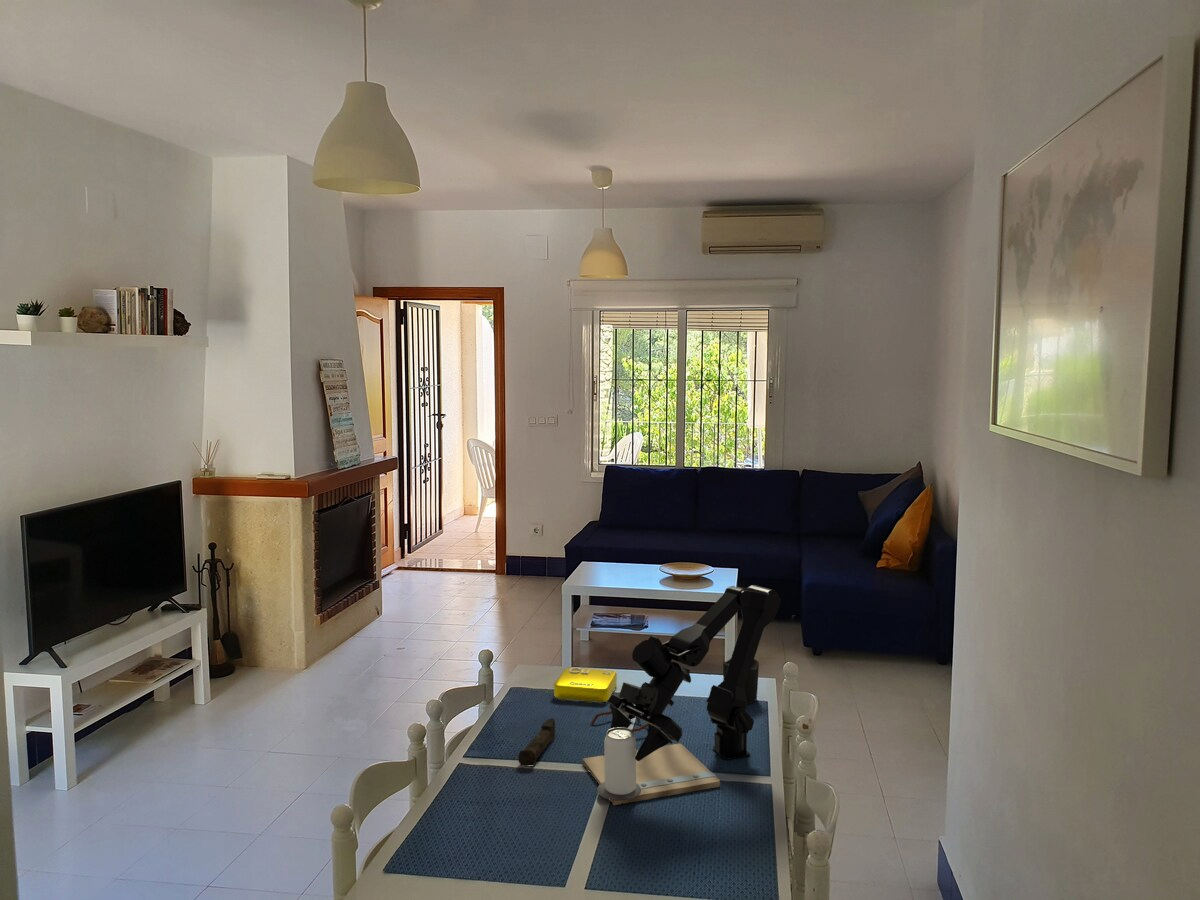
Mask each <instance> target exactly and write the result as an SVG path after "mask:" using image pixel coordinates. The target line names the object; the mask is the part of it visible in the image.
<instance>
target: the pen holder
mask: <svg viewBox="0 0 1200 900" xmlns="http://www.w3.org/2000/svg"><path fill="white" fill-rule="evenodd" d="M730 660H731V658H730V659H728V660H726V661H722V670H723V671H722V673H723V678H722V679H723V680H724V678H725V675H726V672H727V669H728V666H729V663H730ZM759 666H760V663H759V661H758V660H756V658H754V660H753V664H752V667H751V670H750V673H749V676H748V679H747V682H746V685H745V693H746V699H747V705H749V704H752V703H755V702H756V700H757V698H758V685H759V670H760V669H759V668H760V667H759ZM723 680H722V681H723Z"/></svg>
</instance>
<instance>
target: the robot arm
mask: <svg viewBox="0 0 1200 900" xmlns="http://www.w3.org/2000/svg"><path fill="white" fill-rule="evenodd" d="M781 602H782V601H781V598H780V594H779V593H778V591H776V590H775V589H770V588H768V587H763V586H759V585H755V584H752V585H750V586H748V587H741V586H734V585H731V586H728V587H726V588H725V590H724V594H722V595H721V596H720V597H719V598H718V599H717V600H716V602H715V603H713V605H712V606H711V607H710V608H709V609H708V610H707V611H706V612H705V613H704V614H703V615H702V616H701V617H700V618H699V619H698V620H697V621H696V623H694V624H692V625H691V626H688V627H685V628H682V629H681V630H679V631H678V632H677V633H676V634H674V635H673V636H671V638H670V639H669V640H667V641H664V642H663V643H662V641H661V640H660V638H658V637H657V636H654V635H650V636H649V637H648V639H645V640H643V641H641V642H640V643H638V644H637V645H635V647H634V648H633V649H632V650H633V651H632V654H631V657H632V660H633V662H634V663H635V664H637V665H638V667H639V668H641V669H642V670H643V671H644V672H645V673H646V674H647V675H648V676H649V677H650V678H651V680H650V681H649V682H646V681H645V682H643V683H641V686H638V685H634V684H632V683H631V684H630V683H628V682H622V686H621V688H620V692H619V693H618V692H615V693H613V694H612V695H611V696H610V698H609V700H608V701H607V702H606V703H607V704H608V705H609V706H608V709H609V710H610V711H612V714H611V717H612V718H611V724H610V729H612V728H617V727H623V728H628V729H629V728H630V726H631V725H632V724H633V722H632V721H631V720H633V719H635V718H636V719H639V720H641V721H643V722H645V723H646V724H647V723H649V725H648V727H647V728H648V729H647V734H646V736H645V738H644V740H643V741H642V744H641V745H640V747H639V748H638V749H637V750H638V752H637V754H636V757H635V759H636V760H637V761H640V760H642V759H643V758H645V757H646V756H648V755H649V754H651V753H652V752H654V751H656V750H657V749H659V748H661V747H663V746H667V745H673V742H675V743H676V744H679V741H680V740H681V738H682V736H683V728H682V727H681V726H680V725H679V724H678V723H677V722H676V721H674V719H673V718H671V717H669V716H668V715H664V714H663V713H664V712H665V710H666V709H667V707H668V706H670V707H673V705H674V704H675V701H673V698H674V695H675V694H676V692H678V689H679V687H680V686H681V684H682V683H683V681H684V682H686V683H689V684H690V683H691V682H692V678H691V674H690V669H688V668H686V667H684V666H683V667H682V666H681V665H680V664H683V665H685V666H688V667H694V668H695V667H698V666H699V665H700V664H701V662H702V661H703V660H704V658H705V657H706V655H707V654H708V652H709V650H710V644H711V642H712V640H713V639H714V638H715V637H716V636H717V635H718V634H719V633H720V632H721V630H722V629H724V627H725V626H726V625H727V624H728V623H729V622H730V621H731V620H732V619H733V618H734V616H735V615H737V613H738V612H740V611H741V616H742V623H741V625H740V630H739V633H738V635H737V639H736V642H735V645H734V648H733V651H732V654H731V657H730V659H731V660H730V659H729V660H730V663H729V666H728V669H727V672H726V675H725V678H724V680H722V681H721V682H720V683H719V684H718V685H716V684H715V685H714V684H713V685H712V686H711V688H710V692H709V695H708V698H706V701H705V702H706V703H707V704H706V711H707V713H708V716H709V720H710V722H711V724H714V725H716V726H715V727H716V732H714V745H713V747H712V749H713V751H715V752H716V753H717V754H718V755H719V756H721V757H722V758H723V759H724V760H731V759H736V758H742V757H743V758H744V757H749V756H751V753H750V752H749V751H748V750H747V748H748V747H747V745H748V744H747V742H748V739H747V738H748V734H749V731H752V730H753V726H754V723H755V720H754V719H753V718H752V717H751V716H750V714H748V713H747V712H746V710H747V705H748V704H747V699H746V693H745V685H746V682H747V679H748V676H749V673H750V670H751V667H752V664H753V660H754V659H755V657H756V654H757V650H758V648H759V645H760V642H761V639H762V635H763V631H764V629H765V628H766V627H767V626H768V625H769V624H770V623H771V622H772V621H773V620H774V619H775V617H776V616H777V613H778V611H779V609H780V606H781ZM679 663H680V664H679ZM649 718H650V719H649ZM650 724H651V725H650ZM654 726H655V727H654Z"/></svg>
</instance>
